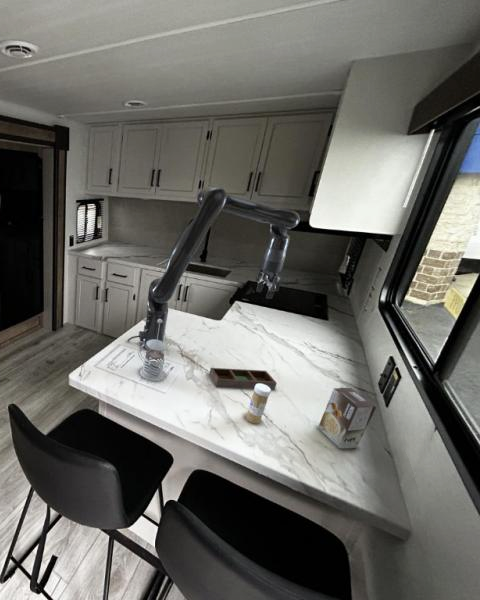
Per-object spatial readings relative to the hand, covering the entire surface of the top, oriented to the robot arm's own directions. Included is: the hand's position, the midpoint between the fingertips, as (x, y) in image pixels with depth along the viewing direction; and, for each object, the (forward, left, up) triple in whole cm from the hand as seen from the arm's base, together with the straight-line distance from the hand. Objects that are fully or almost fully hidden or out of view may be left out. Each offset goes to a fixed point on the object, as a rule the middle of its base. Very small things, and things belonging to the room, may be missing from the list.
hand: (263, 295), depth 139 cm
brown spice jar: (-19, -45, -29) cm, 57 cm away
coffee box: (+5, -51, -29) cm, 59 cm away
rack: (-14, -24, -29) cm, 40 cm away
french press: (-50, -21, -29) cm, 62 cm away
